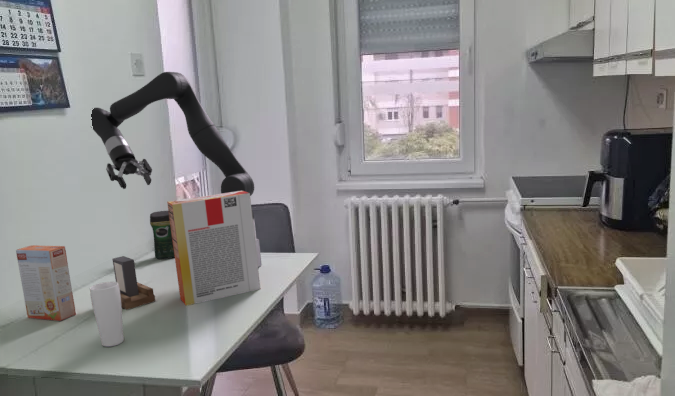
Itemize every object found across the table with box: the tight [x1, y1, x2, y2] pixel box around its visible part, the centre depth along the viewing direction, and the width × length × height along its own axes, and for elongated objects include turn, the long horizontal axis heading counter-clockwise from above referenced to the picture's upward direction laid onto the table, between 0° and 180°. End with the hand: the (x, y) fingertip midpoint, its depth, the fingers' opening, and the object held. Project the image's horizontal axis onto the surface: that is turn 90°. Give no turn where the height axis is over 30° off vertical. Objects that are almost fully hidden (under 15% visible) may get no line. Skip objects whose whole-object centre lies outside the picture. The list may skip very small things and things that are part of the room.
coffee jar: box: [149, 210, 175, 260], centre depth 230 cm, size 10×8×19 cm
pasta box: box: [167, 191, 261, 306], centre depth 176 cm, size 23×8×30 cm, turn 116°
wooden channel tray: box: [120, 281, 156, 311], centre depth 179 cm, size 16×9×4 cm, turn 42°
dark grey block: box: [112, 255, 139, 297], centre depth 179 cm, size 8×4×11 cm, turn 42°
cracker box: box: [15, 244, 77, 322], centre depth 169 cm, size 14×6×21 cm, turn 65°
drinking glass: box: [89, 281, 125, 348], centre depth 144 cm, size 7×7×15 cm
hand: (137, 185), depth 198 cm, fingers open, 8 cm apart
